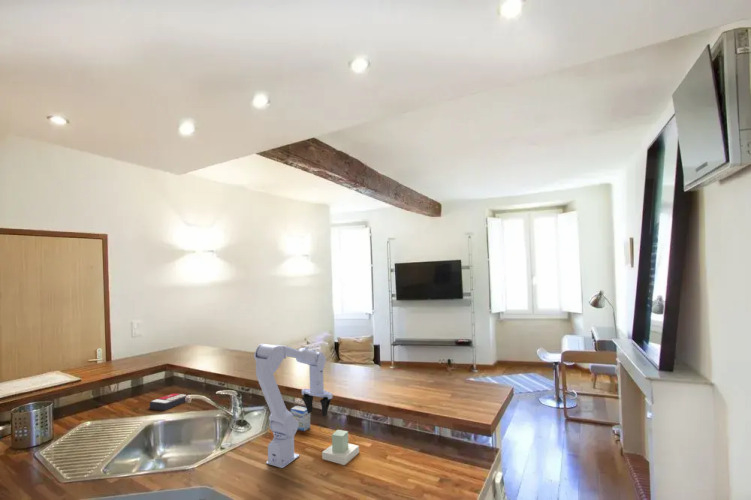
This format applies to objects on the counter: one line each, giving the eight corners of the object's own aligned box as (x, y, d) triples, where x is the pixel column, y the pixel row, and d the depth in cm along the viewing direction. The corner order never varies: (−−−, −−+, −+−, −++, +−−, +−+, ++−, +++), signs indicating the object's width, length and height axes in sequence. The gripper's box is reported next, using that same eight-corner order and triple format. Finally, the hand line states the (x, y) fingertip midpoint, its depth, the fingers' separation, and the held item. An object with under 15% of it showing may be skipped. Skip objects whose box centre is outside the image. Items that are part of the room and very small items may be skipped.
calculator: (188, 394, 203) (165, 402, 189) (188, 402, 203) (164, 411, 189) (173, 392, 207) (149, 400, 193) (173, 400, 206) (149, 408, 192)
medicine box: (290, 428, 163) (289, 408, 164) (296, 424, 167) (296, 405, 167) (304, 431, 159) (303, 411, 160) (310, 427, 163) (310, 407, 164)
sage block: (342, 453, 135) (342, 436, 135) (332, 451, 137) (331, 434, 137) (348, 447, 139) (348, 431, 139) (338, 445, 141) (337, 429, 141)
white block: (344, 466, 131) (344, 458, 131) (322, 460, 136) (322, 452, 136) (359, 453, 140) (358, 445, 140) (337, 448, 145) (337, 440, 145)
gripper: (336, 380, 153) (337, 413, 152) (308, 376, 160) (309, 407, 159) (326, 385, 147) (327, 419, 146) (298, 381, 153) (298, 413, 153)
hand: (317, 414), depth 152 cm, fingers open, 7 cm apart
